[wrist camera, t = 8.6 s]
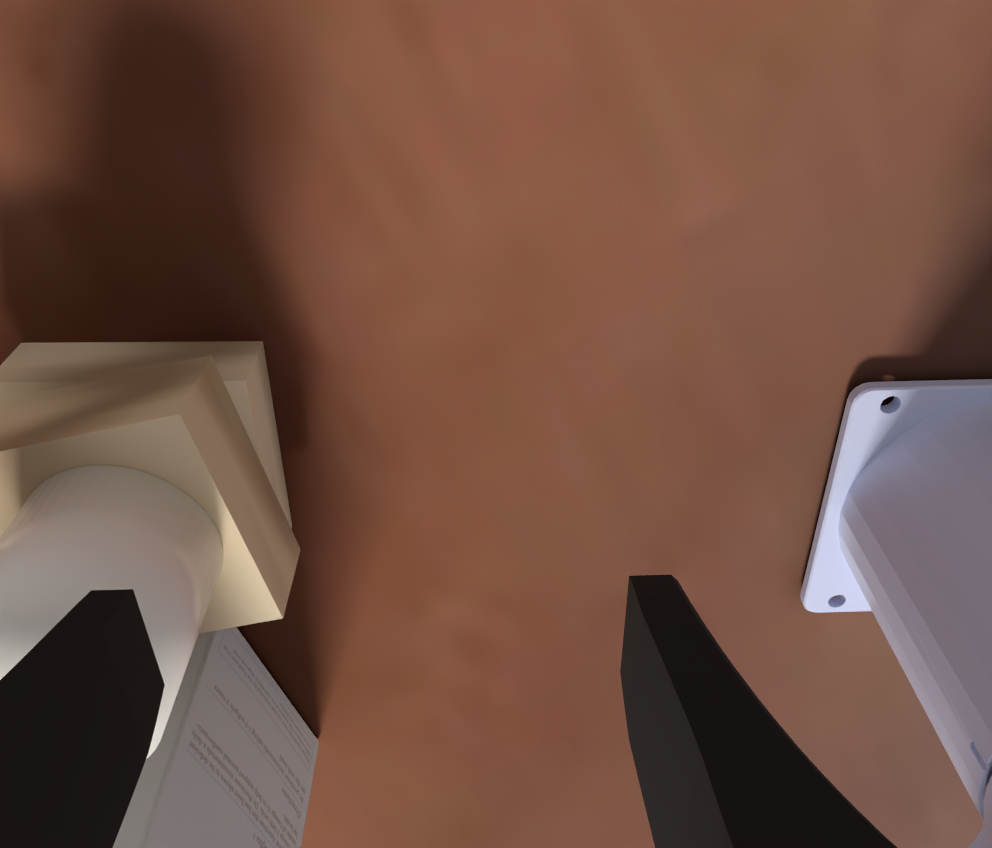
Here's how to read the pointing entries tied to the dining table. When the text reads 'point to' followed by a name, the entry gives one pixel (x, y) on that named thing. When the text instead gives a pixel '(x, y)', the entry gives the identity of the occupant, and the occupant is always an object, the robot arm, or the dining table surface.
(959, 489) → the robot arm
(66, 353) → the oak slab bottom
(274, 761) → the supplement box
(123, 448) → the oak slab top
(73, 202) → the dining table surface
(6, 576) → the ceramic jar
